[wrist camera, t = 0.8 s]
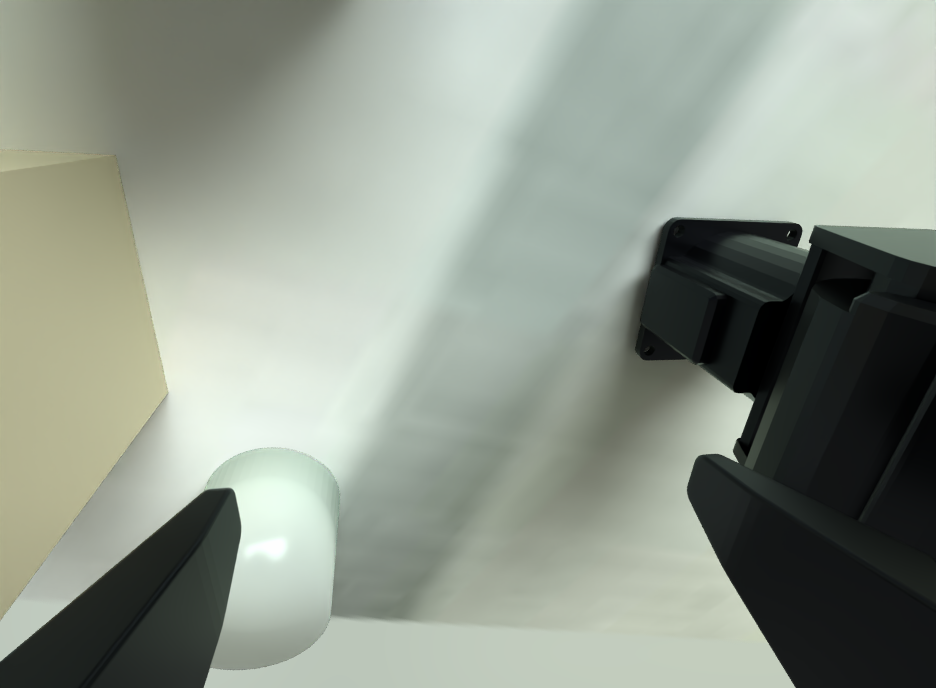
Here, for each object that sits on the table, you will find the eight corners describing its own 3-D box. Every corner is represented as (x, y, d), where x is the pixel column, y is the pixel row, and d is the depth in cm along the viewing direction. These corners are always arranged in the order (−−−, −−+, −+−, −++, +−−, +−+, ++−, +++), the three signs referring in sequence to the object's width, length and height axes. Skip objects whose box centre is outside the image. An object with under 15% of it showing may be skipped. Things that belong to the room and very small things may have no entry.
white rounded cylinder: (337, 443, 22) (326, 547, 17) (342, 540, 24) (335, 657, 19) (194, 451, 21) (133, 566, 15) (215, 551, 23) (169, 680, 18)
